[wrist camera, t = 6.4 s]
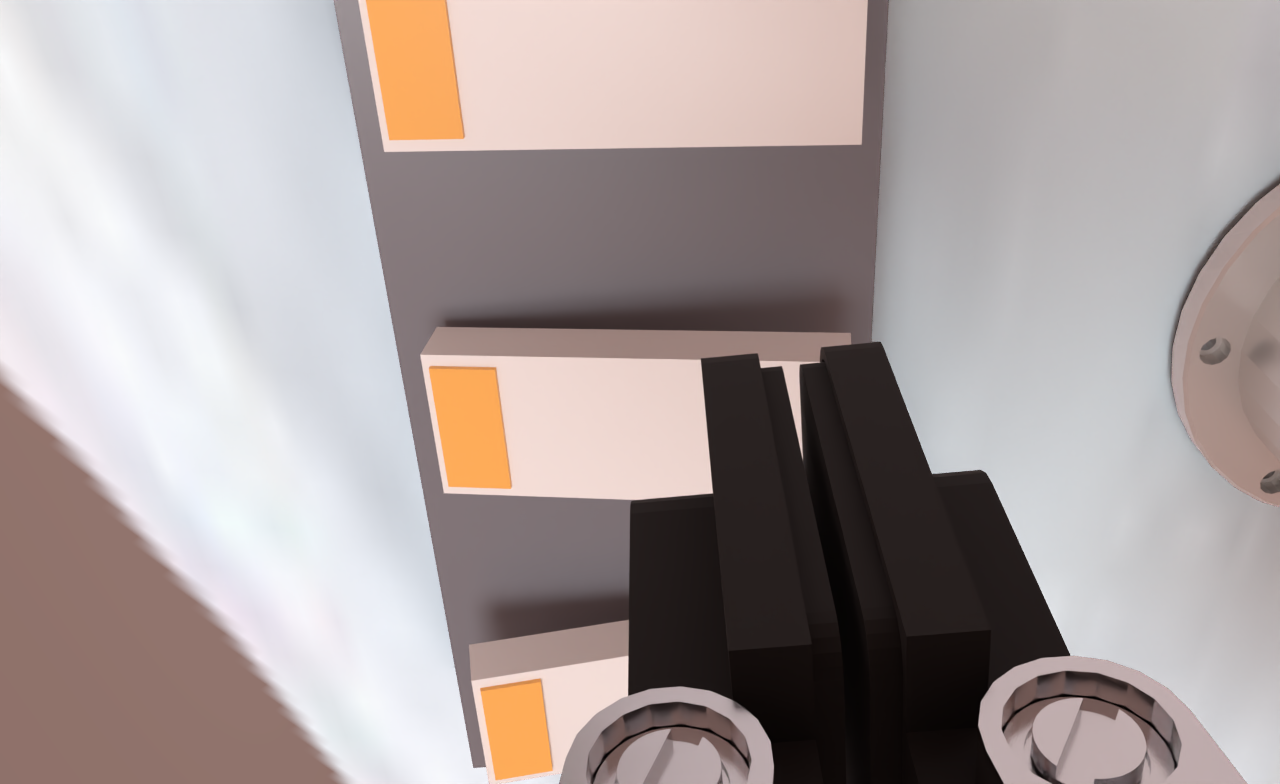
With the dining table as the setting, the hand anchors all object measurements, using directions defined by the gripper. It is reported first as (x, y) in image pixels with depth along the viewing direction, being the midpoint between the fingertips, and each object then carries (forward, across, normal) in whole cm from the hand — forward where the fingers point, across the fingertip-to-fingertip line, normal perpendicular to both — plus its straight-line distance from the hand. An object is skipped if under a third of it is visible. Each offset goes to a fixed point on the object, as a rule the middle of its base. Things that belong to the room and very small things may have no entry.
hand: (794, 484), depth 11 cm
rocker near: (+15, +2, -1) cm, 15 cm away
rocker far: (+15, +3, +17) cm, 23 cm away
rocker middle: (+15, +2, +8) cm, 18 cm away
